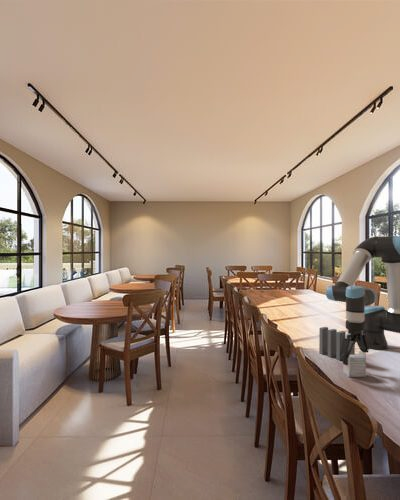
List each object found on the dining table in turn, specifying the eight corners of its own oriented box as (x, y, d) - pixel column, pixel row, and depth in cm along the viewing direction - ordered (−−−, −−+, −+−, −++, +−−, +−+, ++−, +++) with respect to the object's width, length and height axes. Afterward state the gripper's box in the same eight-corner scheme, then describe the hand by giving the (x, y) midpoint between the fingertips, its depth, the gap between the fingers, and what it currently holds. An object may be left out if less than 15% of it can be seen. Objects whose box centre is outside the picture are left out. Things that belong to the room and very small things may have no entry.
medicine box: (360, 373, 137) (360, 354, 137) (366, 377, 133) (366, 357, 133) (343, 373, 137) (343, 354, 137) (348, 377, 133) (348, 357, 133)
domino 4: (351, 360, 153) (351, 333, 152) (354, 361, 151) (354, 334, 151) (345, 362, 150) (345, 334, 150) (348, 363, 148) (349, 335, 148)
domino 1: (325, 351, 165) (325, 326, 165) (328, 352, 164) (328, 327, 164) (319, 353, 163) (319, 327, 163) (322, 354, 161) (322, 328, 161)
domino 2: (333, 354, 161) (333, 328, 161) (336, 355, 160) (336, 329, 159) (327, 356, 158) (327, 330, 158) (330, 357, 157) (330, 330, 157)
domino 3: (342, 357, 157) (342, 330, 157) (345, 358, 155) (345, 331, 155) (336, 359, 154) (336, 332, 154) (339, 360, 153) (339, 333, 153)
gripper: (361, 316, 145) (361, 360, 145) (331, 322, 132) (330, 371, 132) (377, 319, 138) (377, 366, 138) (347, 326, 125) (346, 377, 125)
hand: (354, 368), depth 135 cm, fingers open, 12 cm apart
